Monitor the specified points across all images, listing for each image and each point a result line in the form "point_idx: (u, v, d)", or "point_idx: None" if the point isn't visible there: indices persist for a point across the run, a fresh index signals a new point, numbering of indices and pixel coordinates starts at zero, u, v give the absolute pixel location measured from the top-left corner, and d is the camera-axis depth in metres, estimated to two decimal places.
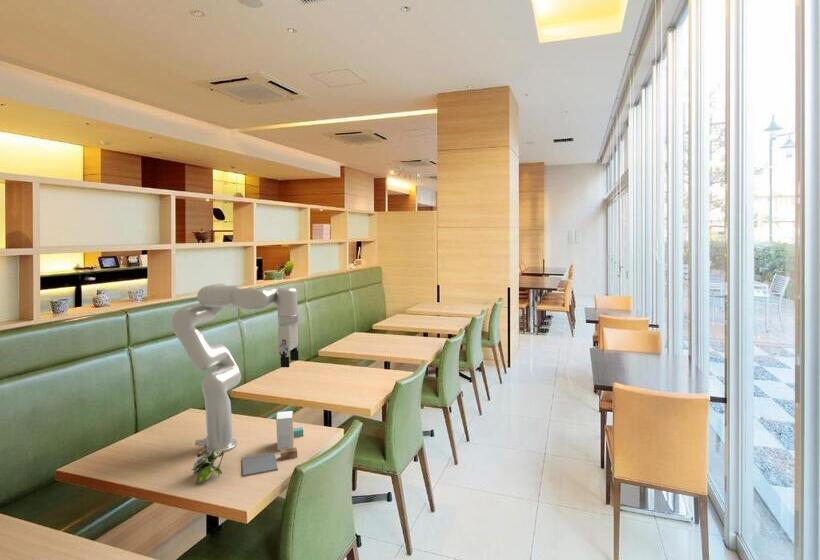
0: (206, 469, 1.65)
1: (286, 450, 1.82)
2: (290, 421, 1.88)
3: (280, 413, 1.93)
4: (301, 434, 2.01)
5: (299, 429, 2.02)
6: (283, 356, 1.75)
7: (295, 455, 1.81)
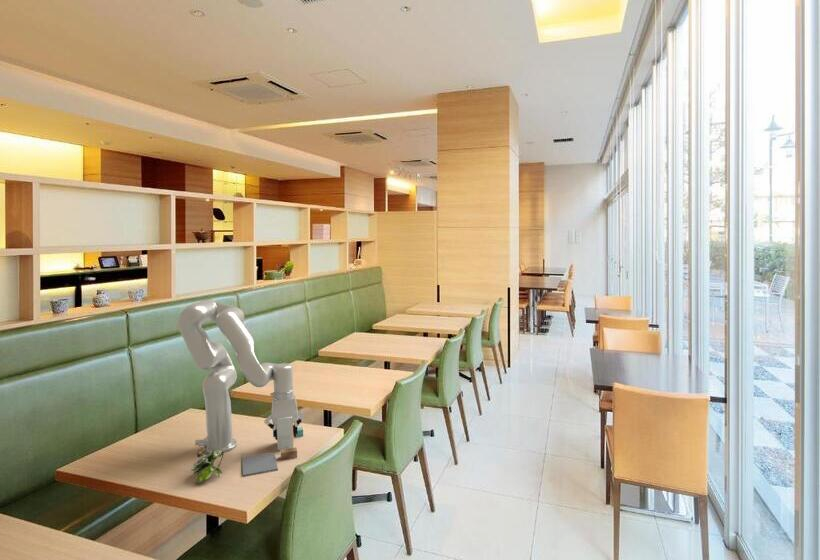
0: (206, 469, 1.65)
1: (286, 450, 1.82)
2: (290, 421, 1.88)
3: None
4: (301, 434, 2.01)
5: (299, 429, 2.02)
6: None
7: (294, 455, 1.81)
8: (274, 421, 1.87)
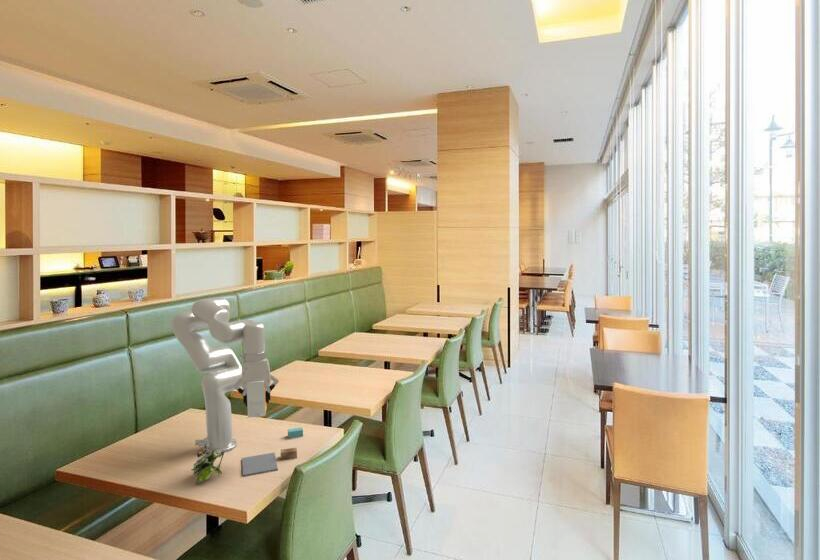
0: (206, 469, 1.65)
1: (286, 450, 1.82)
2: (262, 385, 1.71)
3: None
4: (301, 434, 2.01)
5: (299, 429, 2.01)
6: None
7: (294, 455, 1.81)
8: (244, 385, 1.70)
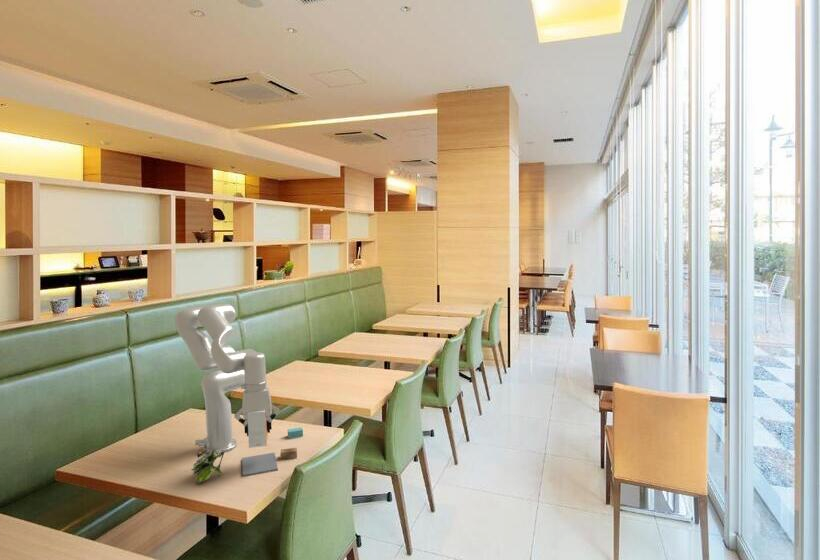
0: (206, 469, 1.65)
1: (286, 450, 1.82)
2: (263, 415, 1.71)
3: None
4: (301, 434, 2.01)
5: (299, 429, 2.01)
6: None
7: (294, 455, 1.81)
8: (245, 415, 1.70)
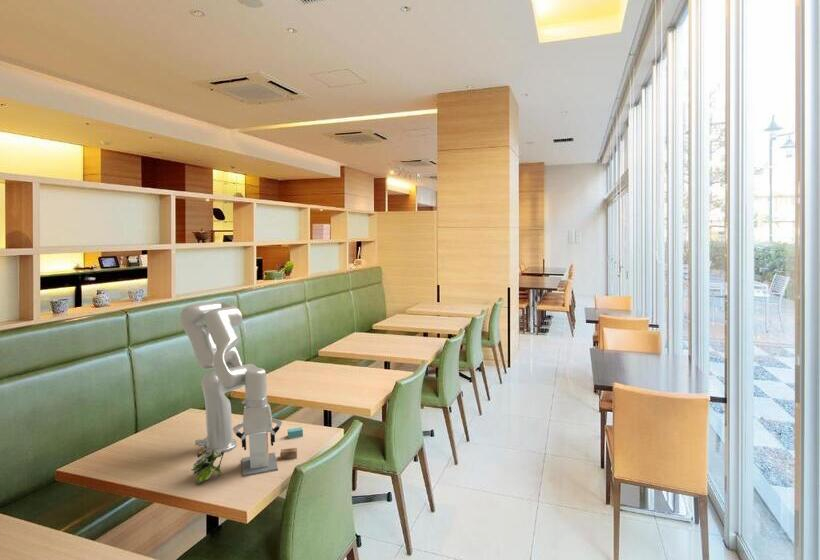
0: (206, 469, 1.65)
1: (286, 450, 1.82)
2: (264, 436, 1.72)
3: None
4: (300, 434, 2.01)
5: (298, 429, 2.01)
6: None
7: (294, 456, 1.81)
8: (245, 431, 1.71)
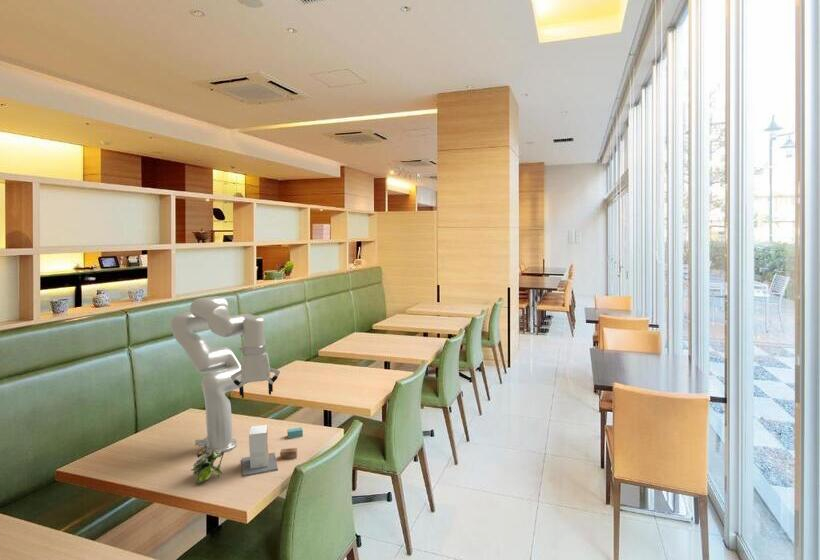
0: (206, 469, 1.65)
1: (286, 450, 1.82)
2: (264, 436, 1.72)
3: (253, 427, 1.77)
4: (300, 434, 2.01)
5: (298, 429, 2.01)
6: None
7: (294, 456, 1.81)
8: (243, 379, 1.70)
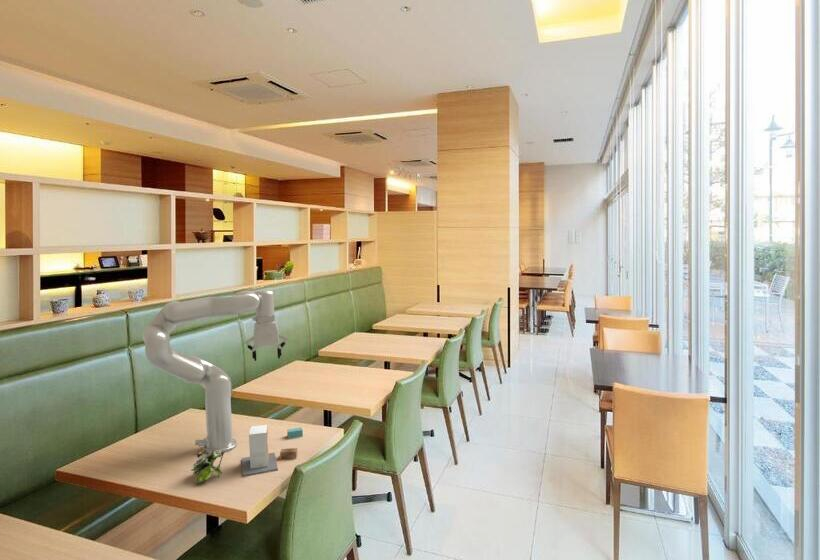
0: (206, 469, 1.65)
1: (286, 450, 1.82)
2: (264, 436, 1.72)
3: (253, 427, 1.77)
4: (300, 434, 2.01)
5: (298, 429, 2.01)
6: None
7: (293, 456, 1.81)
8: (256, 343, 1.96)
